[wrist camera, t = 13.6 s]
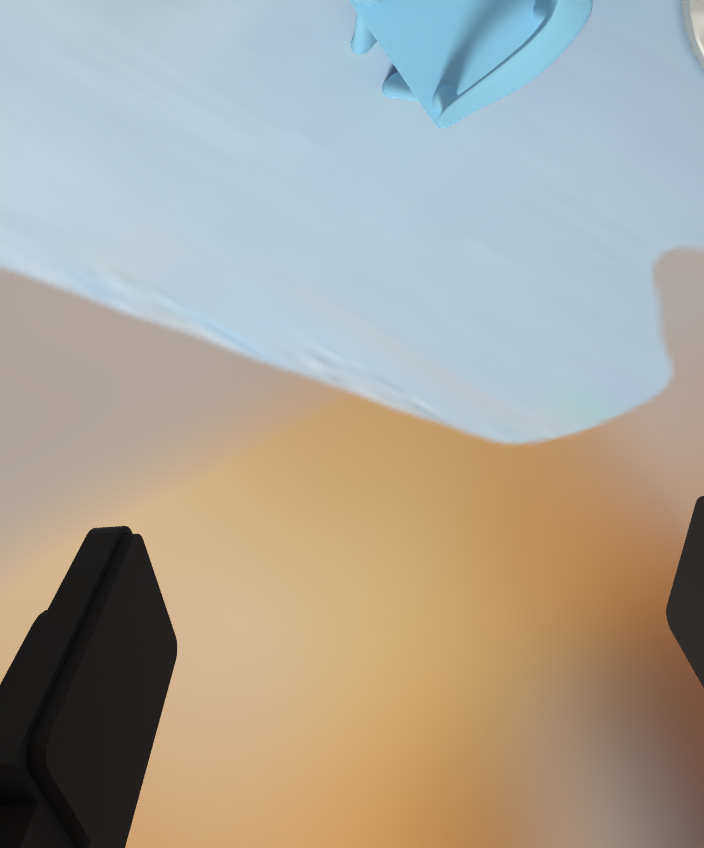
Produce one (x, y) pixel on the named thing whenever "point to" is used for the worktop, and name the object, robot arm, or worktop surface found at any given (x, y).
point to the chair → (465, 47)
